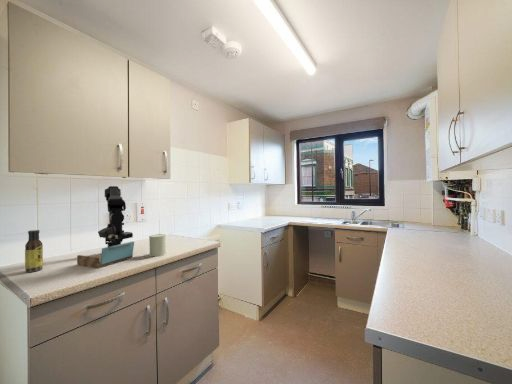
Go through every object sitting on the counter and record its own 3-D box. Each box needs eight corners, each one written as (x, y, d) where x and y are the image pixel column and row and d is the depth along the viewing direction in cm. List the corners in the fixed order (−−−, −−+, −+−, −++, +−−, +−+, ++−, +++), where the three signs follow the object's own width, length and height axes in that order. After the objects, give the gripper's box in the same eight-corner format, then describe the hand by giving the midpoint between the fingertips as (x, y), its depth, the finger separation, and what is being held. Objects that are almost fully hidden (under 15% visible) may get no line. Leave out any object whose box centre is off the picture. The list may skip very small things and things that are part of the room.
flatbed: (77, 265, 120) (77, 255, 120) (113, 255, 139) (113, 246, 139) (97, 268, 114) (97, 258, 114) (132, 257, 133) (132, 248, 133)
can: (168, 252, 142) (168, 233, 142) (161, 256, 133) (160, 236, 133) (154, 252, 143) (154, 233, 143) (146, 256, 134) (145, 236, 134)
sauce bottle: (41, 271, 112) (40, 230, 112) (23, 273, 108) (22, 231, 108) (44, 267, 117) (43, 228, 117) (27, 270, 114) (26, 230, 114)
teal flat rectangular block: (100, 263, 115) (102, 248, 115) (130, 254, 131) (132, 241, 131) (102, 264, 115) (104, 249, 114) (132, 255, 131) (134, 242, 130)
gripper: (89, 222, 119) (89, 252, 119) (113, 224, 112) (113, 256, 112) (110, 220, 130) (110, 247, 130) (133, 221, 122) (133, 250, 122)
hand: (116, 250), depth 123 cm, fingers closed
